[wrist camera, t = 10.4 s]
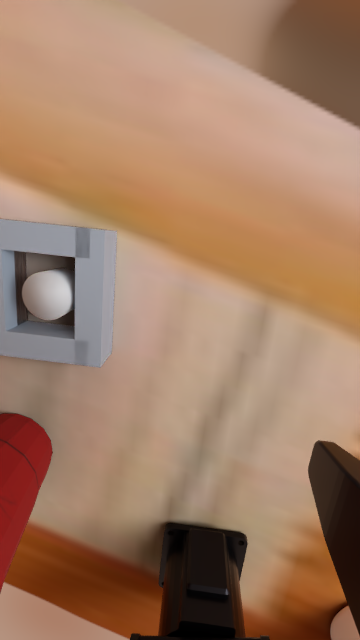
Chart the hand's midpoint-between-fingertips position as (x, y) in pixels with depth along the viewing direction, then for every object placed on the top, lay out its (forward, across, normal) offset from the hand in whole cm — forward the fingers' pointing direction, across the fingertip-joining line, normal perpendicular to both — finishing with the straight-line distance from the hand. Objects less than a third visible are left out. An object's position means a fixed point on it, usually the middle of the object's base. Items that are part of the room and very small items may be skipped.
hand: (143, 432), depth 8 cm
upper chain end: (+12, +11, -1) cm, 16 cm away
